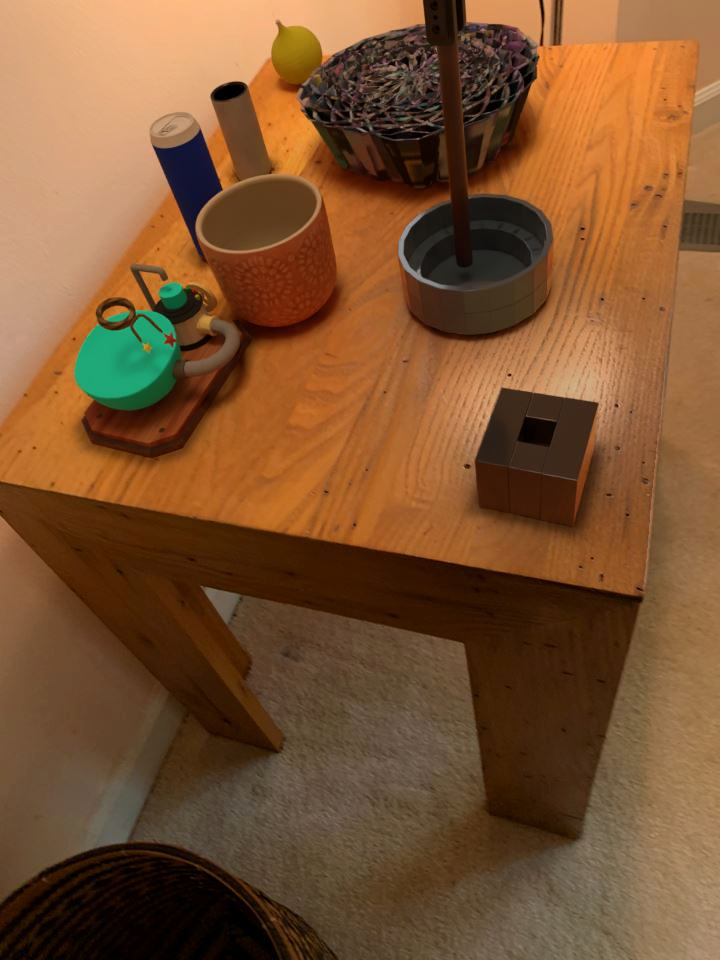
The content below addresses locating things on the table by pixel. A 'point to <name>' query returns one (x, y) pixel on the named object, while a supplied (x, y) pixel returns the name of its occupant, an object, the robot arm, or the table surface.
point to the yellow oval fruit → (295, 53)
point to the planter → (270, 248)
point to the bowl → (477, 265)
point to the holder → (536, 455)
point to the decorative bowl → (419, 101)
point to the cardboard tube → (241, 129)
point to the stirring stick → (455, 150)
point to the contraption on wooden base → (156, 367)
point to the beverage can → (185, 165)
